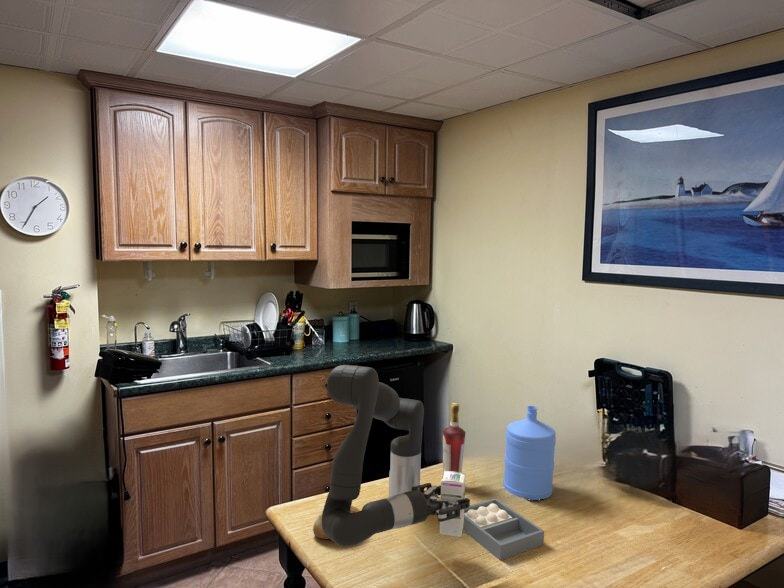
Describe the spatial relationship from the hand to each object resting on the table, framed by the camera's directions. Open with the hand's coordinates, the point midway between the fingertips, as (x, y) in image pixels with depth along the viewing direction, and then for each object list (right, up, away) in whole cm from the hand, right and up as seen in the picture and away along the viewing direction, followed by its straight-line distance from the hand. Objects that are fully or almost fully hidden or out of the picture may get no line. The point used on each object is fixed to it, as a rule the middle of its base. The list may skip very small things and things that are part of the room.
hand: (459, 494), depth 141 cm
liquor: (+3, -13, +41) cm, 43 cm away
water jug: (+27, -13, +40) cm, 51 cm away
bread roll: (-31, -15, +12) cm, 37 cm away
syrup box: (-2, -9, 0) cm, 9 cm away
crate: (+12, -16, +12) cm, 24 cm away
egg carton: (+10, -15, +16) cm, 24 cm away
